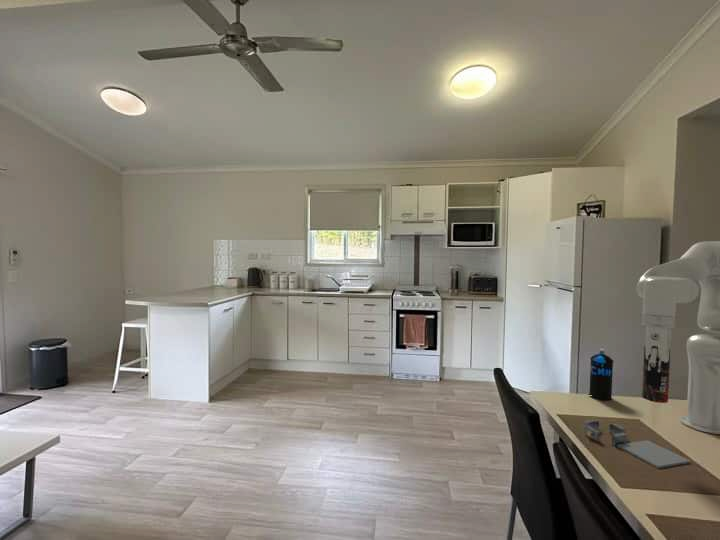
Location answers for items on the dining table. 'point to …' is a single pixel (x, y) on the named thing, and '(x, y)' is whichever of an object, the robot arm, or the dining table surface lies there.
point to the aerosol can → (601, 376)
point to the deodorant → (653, 391)
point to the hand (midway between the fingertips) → (655, 381)
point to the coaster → (653, 454)
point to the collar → (616, 431)
